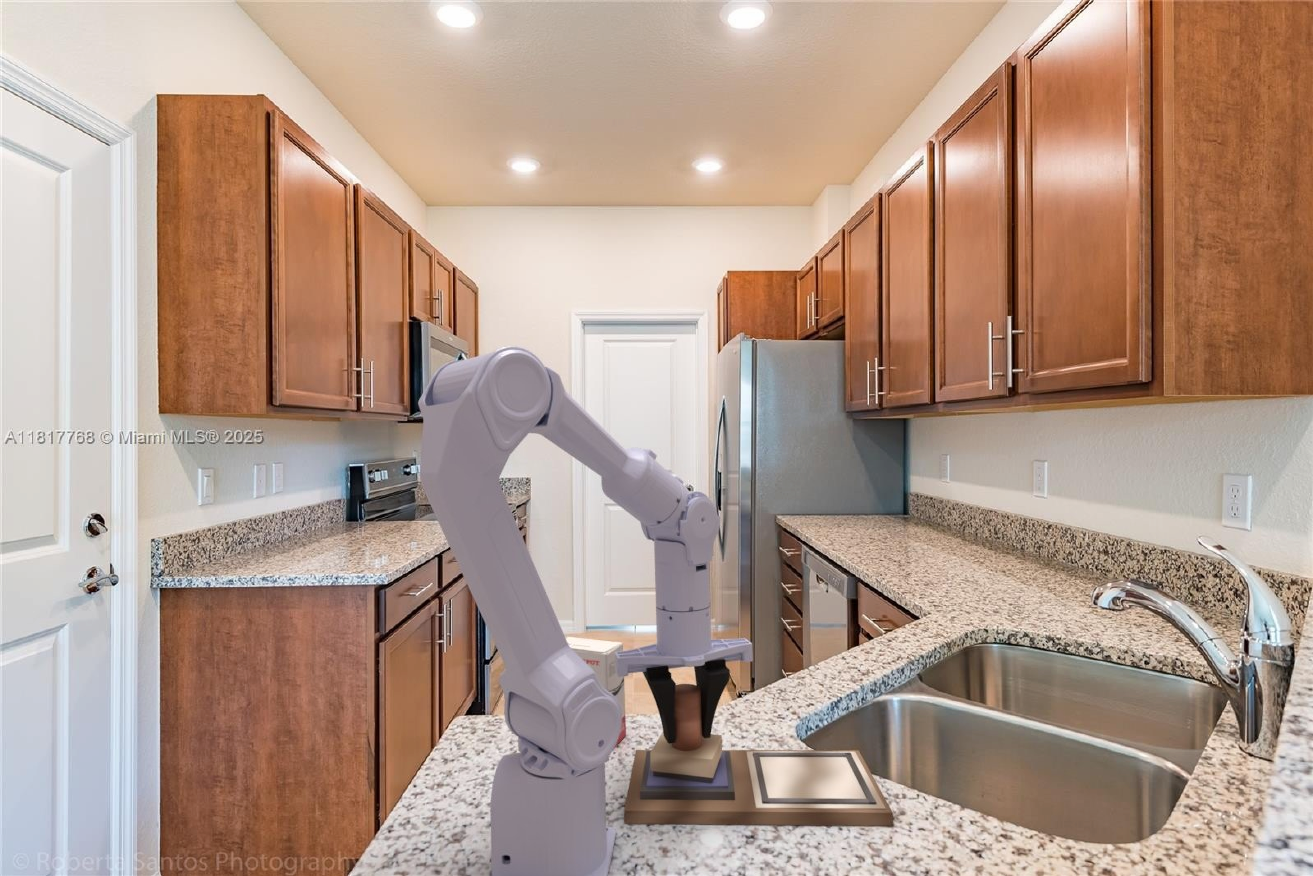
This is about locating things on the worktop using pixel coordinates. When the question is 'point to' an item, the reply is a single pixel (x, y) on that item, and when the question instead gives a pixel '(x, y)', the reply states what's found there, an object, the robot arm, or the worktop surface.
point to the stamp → (687, 742)
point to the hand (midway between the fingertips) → (686, 736)
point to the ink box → (603, 668)
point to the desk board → (762, 791)
